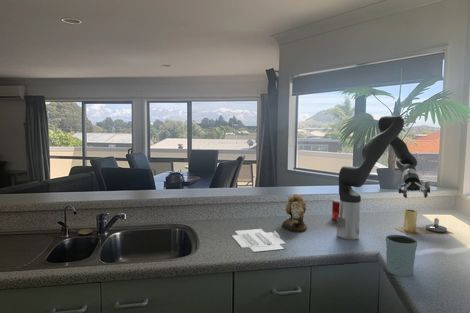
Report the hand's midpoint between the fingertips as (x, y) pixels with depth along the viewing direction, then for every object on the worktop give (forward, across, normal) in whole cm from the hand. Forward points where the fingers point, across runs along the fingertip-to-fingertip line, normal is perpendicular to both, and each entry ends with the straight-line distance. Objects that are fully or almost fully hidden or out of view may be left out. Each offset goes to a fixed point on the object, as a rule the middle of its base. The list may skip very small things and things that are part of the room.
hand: (415, 196), depth 167 cm
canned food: (-2, -38, +16) cm, 41 cm away
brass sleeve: (+10, -4, +13) cm, 17 cm away
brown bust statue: (+18, -58, +5) cm, 61 cm away
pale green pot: (+55, -13, -6) cm, 57 cm away
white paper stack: (+42, -70, -6) cm, 82 cm away
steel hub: (+5, +8, +17) cm, 19 cm away
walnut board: (+8, +2, +16) cm, 18 cm away
